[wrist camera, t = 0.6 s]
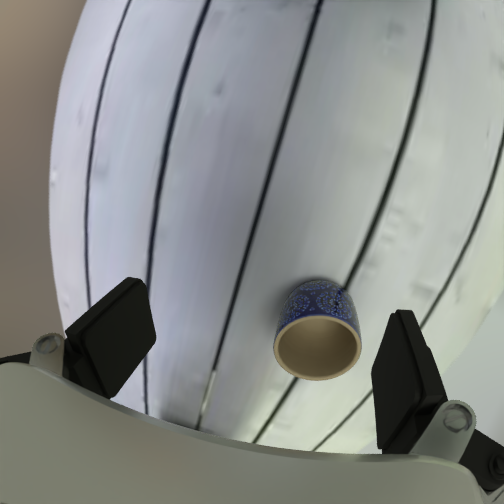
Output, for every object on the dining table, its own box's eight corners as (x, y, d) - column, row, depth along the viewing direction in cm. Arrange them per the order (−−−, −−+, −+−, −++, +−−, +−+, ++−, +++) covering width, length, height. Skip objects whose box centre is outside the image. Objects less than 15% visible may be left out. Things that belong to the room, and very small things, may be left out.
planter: (272, 315, 44) (259, 363, 34) (302, 259, 40) (296, 300, 30) (332, 340, 44) (332, 390, 34) (367, 288, 39) (380, 335, 29)
